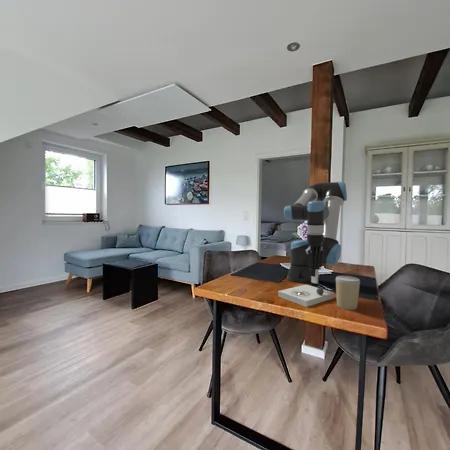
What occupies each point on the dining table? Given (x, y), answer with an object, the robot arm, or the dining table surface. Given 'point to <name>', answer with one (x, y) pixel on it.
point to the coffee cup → (347, 292)
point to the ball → (320, 291)
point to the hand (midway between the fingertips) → (314, 282)
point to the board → (305, 295)
